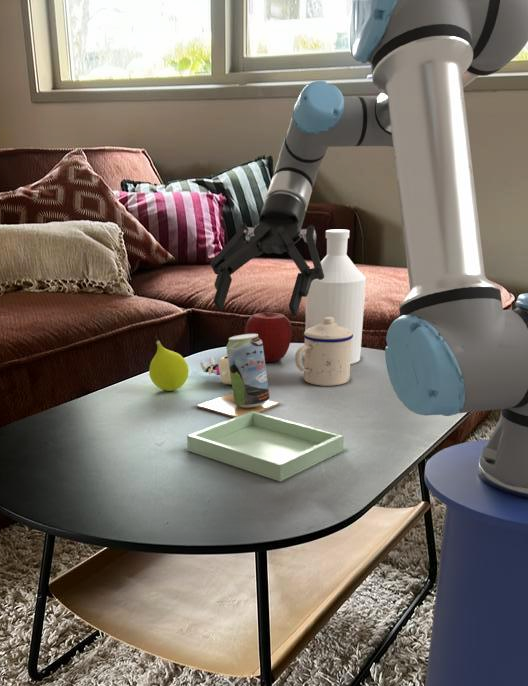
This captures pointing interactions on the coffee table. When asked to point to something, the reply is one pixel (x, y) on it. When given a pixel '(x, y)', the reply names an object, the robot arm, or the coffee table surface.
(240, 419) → the tray
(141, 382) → the coffee table surface
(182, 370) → the ornament
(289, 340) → the apple
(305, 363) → the teacup with lid
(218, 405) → the coaster
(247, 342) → the beverage can
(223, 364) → the figurine
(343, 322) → the bottle
